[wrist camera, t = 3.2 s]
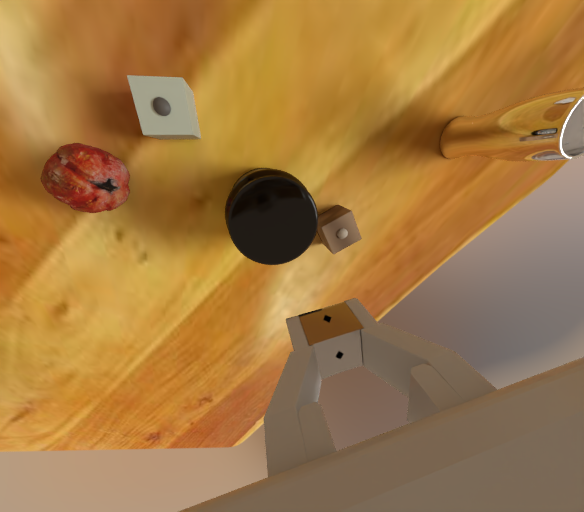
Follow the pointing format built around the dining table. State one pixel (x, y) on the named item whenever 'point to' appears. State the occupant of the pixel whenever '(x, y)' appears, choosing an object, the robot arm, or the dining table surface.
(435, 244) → the dining table surface
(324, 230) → the walnut cube
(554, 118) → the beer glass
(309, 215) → the supplement container
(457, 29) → the dining table surface
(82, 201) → the pomegranate
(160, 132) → the sage cube
